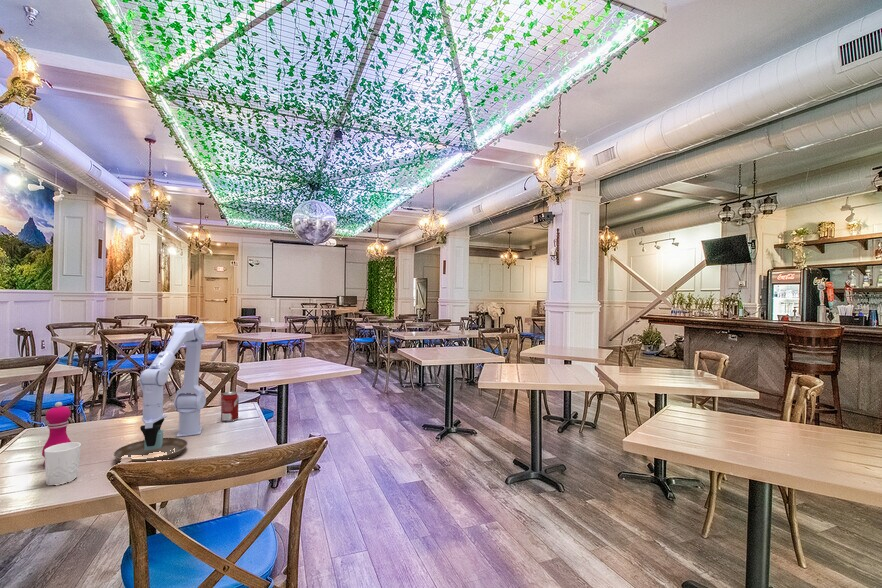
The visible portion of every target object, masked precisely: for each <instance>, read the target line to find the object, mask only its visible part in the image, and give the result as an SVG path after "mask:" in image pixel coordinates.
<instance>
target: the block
mask: <svg viewBox="0 0 882 588" xmlns="http://www.w3.org/2000/svg"><path fill="white" fill-rule="evenodd" d="M163 438H164V429H160V430H158V433H157V438H156V443H155V445H154V446H148V447H147V445H146V441H145V448H144V450H151V449H159V448H161V446H162V444H163Z"/></svg>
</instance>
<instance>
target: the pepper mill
mask: <svg viewBox="0 0 882 588" xmlns="http://www.w3.org/2000/svg"><path fill="white" fill-rule="evenodd" d="M71 413H72V412H71V409H70V408H69V407H68V406H64V405H63V402H62V401H57V402H56V403H55V404H54V407H51V408H50V409H48V410H47V412H46V413H45V417H44V418H45V420H46V421H47V422H48V423H47V424H46V425H47V429H49V434H48V435H49V436H48V437H47V440H46V442H45V444H44V445H43V448H42V451H41V452H42V453H41V455H42V457H43V458H45V453H44V450H45V449H46V448H48V447H51V446H54V445H57V444H62V443H69V442H72V441H71V440H70V438H69V437H68V434H67V427H68V426H69V423H70V422H69V420H68V419H69V418H70V417H71ZM43 467H44V468H45V459H44V460H43Z"/></svg>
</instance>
